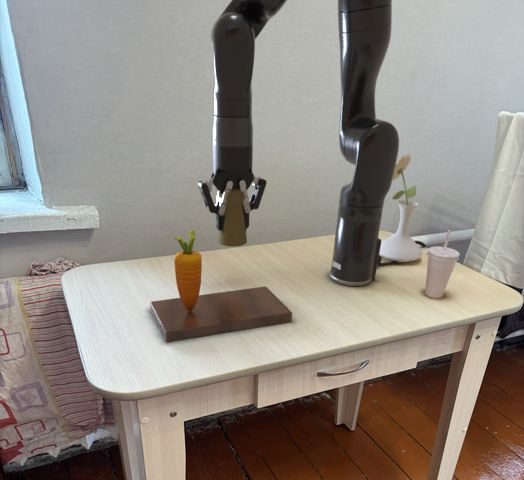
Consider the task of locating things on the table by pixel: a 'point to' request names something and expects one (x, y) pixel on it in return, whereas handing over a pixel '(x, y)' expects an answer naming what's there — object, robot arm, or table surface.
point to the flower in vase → (402, 223)
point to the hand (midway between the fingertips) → (232, 230)
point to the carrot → (188, 272)
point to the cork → (233, 220)
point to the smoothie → (439, 268)
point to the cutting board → (219, 313)
